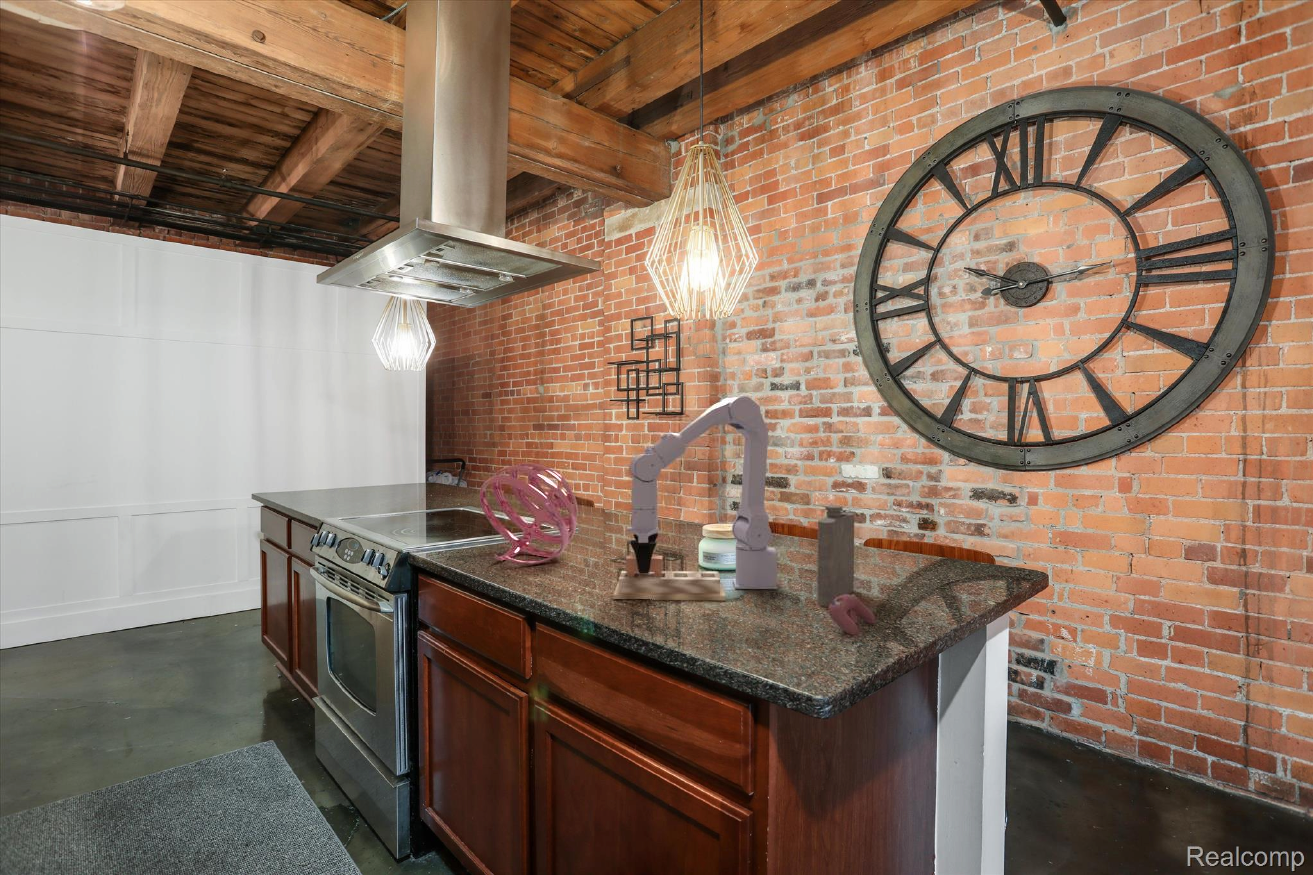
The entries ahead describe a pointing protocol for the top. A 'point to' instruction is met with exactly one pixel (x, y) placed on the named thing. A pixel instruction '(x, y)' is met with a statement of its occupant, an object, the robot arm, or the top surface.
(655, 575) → the clip
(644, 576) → the cream wooden flat frame
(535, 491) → the spiral basket
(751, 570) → the robot arm
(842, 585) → the hip flask
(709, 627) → the top surface
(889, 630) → the top surface
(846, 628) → the video game controller
